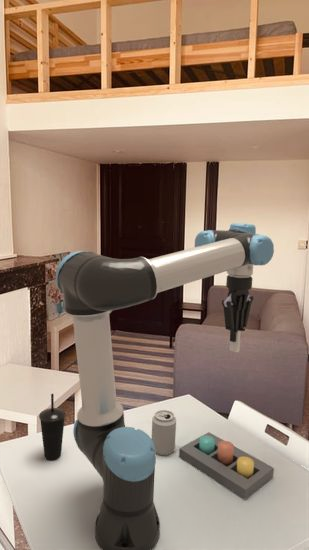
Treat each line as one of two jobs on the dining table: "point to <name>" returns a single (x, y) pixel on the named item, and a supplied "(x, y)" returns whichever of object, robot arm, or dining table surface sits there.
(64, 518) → the dining table surface
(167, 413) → the can
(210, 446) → the teal cylinder
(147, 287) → the robot arm
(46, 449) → the drinking cup
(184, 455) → the tray
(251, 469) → the yellow plastic cylinder
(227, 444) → the coral button
